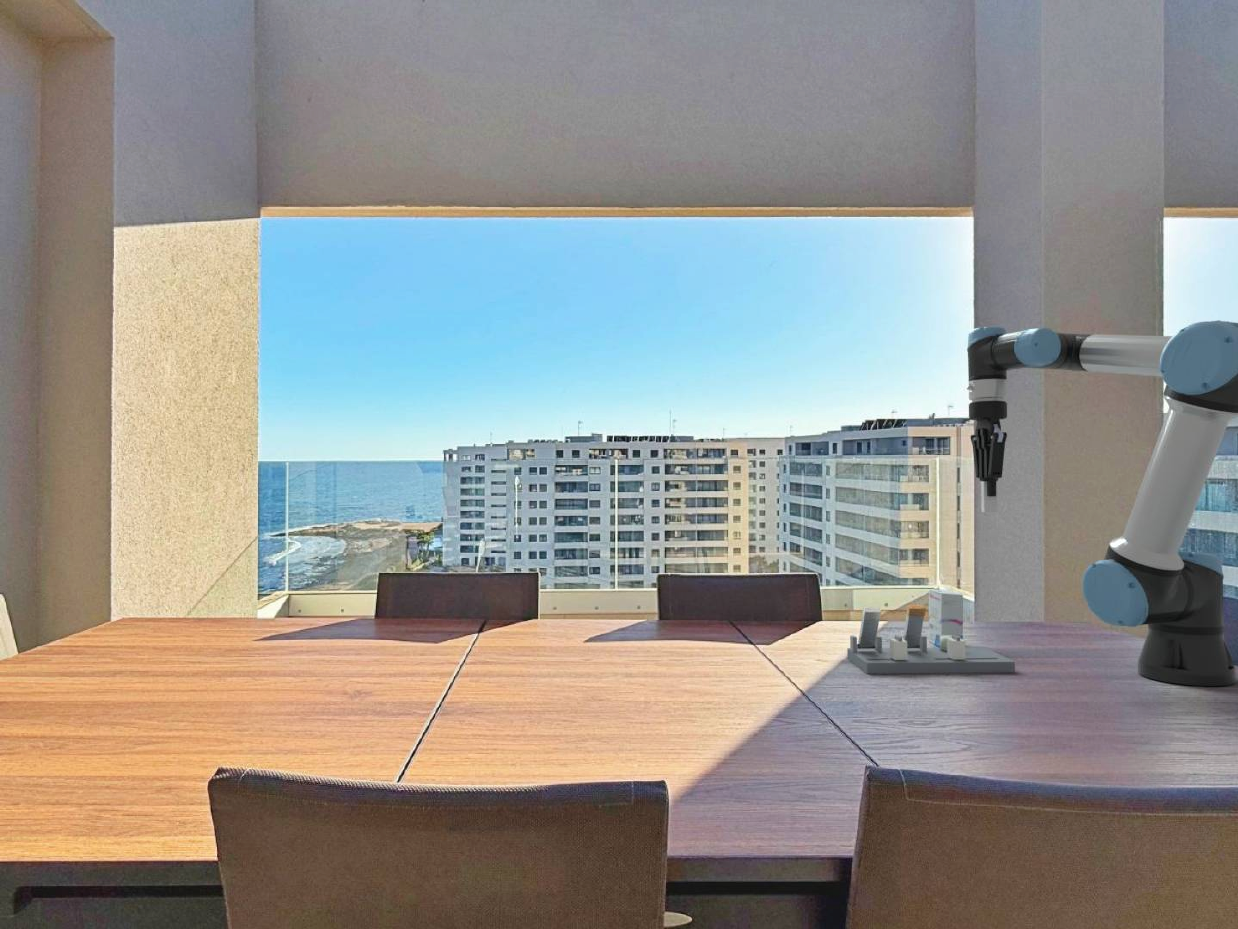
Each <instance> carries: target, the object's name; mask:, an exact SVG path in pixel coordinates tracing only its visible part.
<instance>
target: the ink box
mask: <svg viewBox="0 0 1238 929" xmlns="http://www.w3.org/2000/svg"><path fill="white" fill-rule="evenodd" d="M963 618H964V595H963V594H962V593H958V592H956V591H953V590H950V589H937V588H935V589H932V588H931V589H929V590H928V642H930V643H931V644H933V645H935V646H937V648H940V636H942V635H955V636H959V637H961V639H962V640H964V638H963V636H964V634H963V633H964V632H963V630H964V628H963V627H964V625H963V624H964V622H963V621H964V619H963Z"/></svg>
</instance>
